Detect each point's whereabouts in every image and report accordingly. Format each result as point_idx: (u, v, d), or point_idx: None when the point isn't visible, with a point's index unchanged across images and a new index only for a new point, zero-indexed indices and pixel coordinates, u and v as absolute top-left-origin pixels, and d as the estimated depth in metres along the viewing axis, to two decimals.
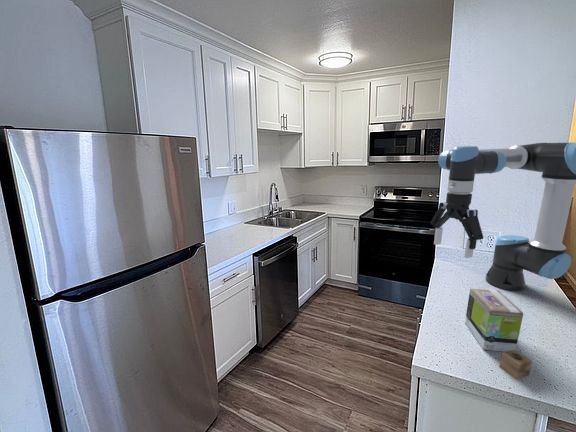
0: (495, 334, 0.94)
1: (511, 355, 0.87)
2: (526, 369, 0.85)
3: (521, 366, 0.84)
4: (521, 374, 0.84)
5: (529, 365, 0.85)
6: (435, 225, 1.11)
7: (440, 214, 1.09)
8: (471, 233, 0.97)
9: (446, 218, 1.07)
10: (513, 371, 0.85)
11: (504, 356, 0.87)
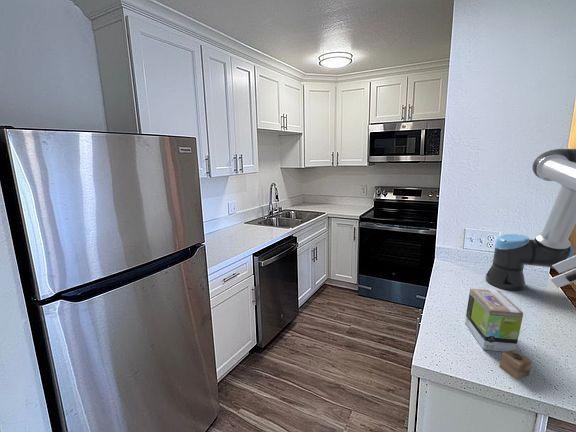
0: (495, 334, 0.94)
1: (511, 355, 0.87)
2: (526, 369, 0.85)
3: (521, 366, 0.84)
4: (521, 374, 0.84)
5: (529, 365, 0.85)
6: None
7: None
8: None
9: None
10: (513, 371, 0.85)
11: (504, 356, 0.87)
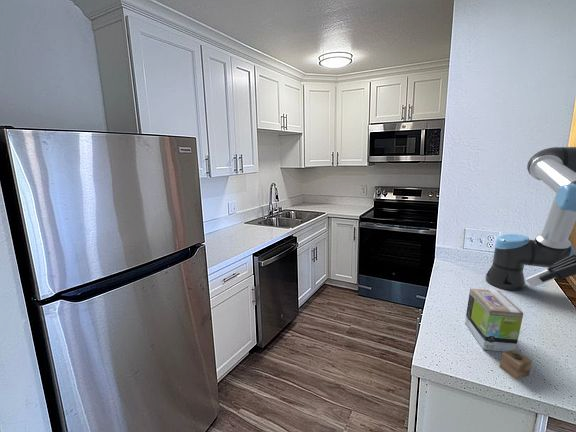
0: (495, 334, 0.94)
1: (511, 355, 0.87)
2: (526, 369, 0.85)
3: (521, 366, 0.84)
4: (521, 374, 0.84)
5: (529, 365, 0.85)
6: None
7: None
8: None
9: None
10: (513, 371, 0.85)
11: (504, 356, 0.87)
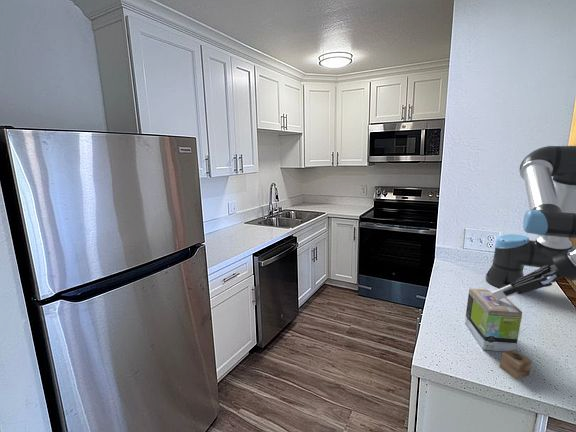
0: (495, 334, 0.94)
1: (511, 355, 0.87)
2: (526, 369, 0.85)
3: (521, 366, 0.84)
4: (521, 374, 0.84)
5: (529, 365, 0.85)
6: None
7: None
8: None
9: None
10: (513, 371, 0.85)
11: (504, 356, 0.87)
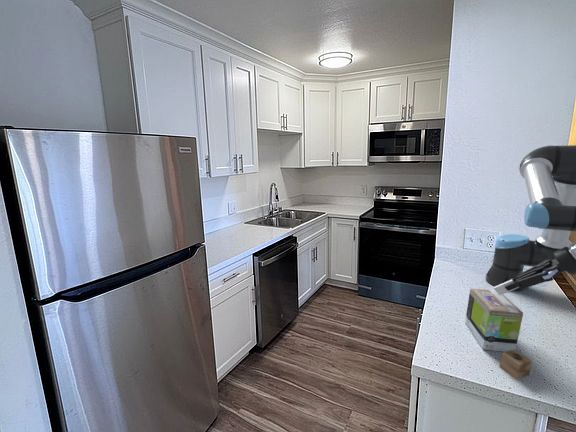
0: (495, 334, 0.94)
1: (511, 355, 0.87)
2: (526, 369, 0.85)
3: (521, 366, 0.84)
4: (521, 373, 0.84)
5: (529, 365, 0.85)
6: None
7: None
8: None
9: None
10: (513, 371, 0.85)
11: (504, 356, 0.87)
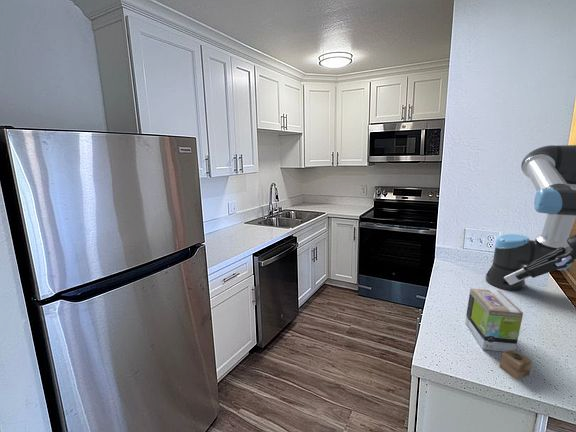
0: (495, 334, 0.94)
1: (511, 355, 0.87)
2: (526, 369, 0.85)
3: (521, 366, 0.84)
4: (521, 374, 0.84)
5: (529, 365, 0.85)
6: None
7: None
8: None
9: None
10: (513, 371, 0.85)
11: (504, 356, 0.87)
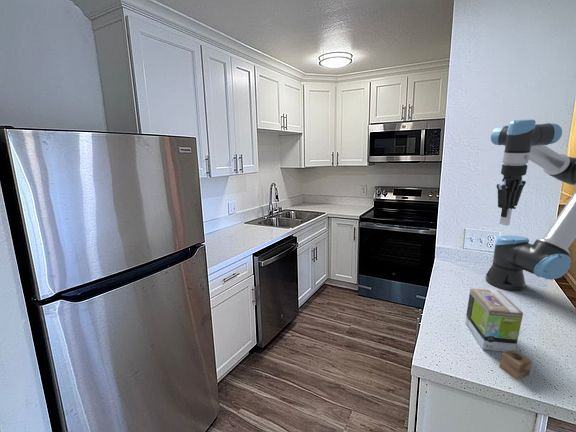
0: (495, 334, 0.94)
1: (511, 355, 0.87)
2: (526, 369, 0.85)
3: (521, 366, 0.84)
4: (521, 373, 0.84)
5: (529, 365, 0.85)
6: (508, 207, 1.11)
7: None
8: None
9: None
10: (513, 371, 0.85)
11: (504, 356, 0.87)
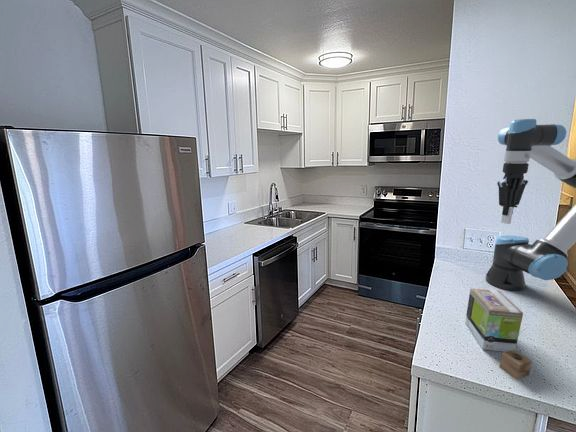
0: (495, 334, 0.94)
1: (511, 355, 0.87)
2: (526, 369, 0.85)
3: (521, 366, 0.84)
4: (521, 374, 0.84)
5: (529, 365, 0.85)
6: (509, 205, 1.12)
7: None
8: None
9: None
10: (513, 371, 0.85)
11: (504, 356, 0.87)
